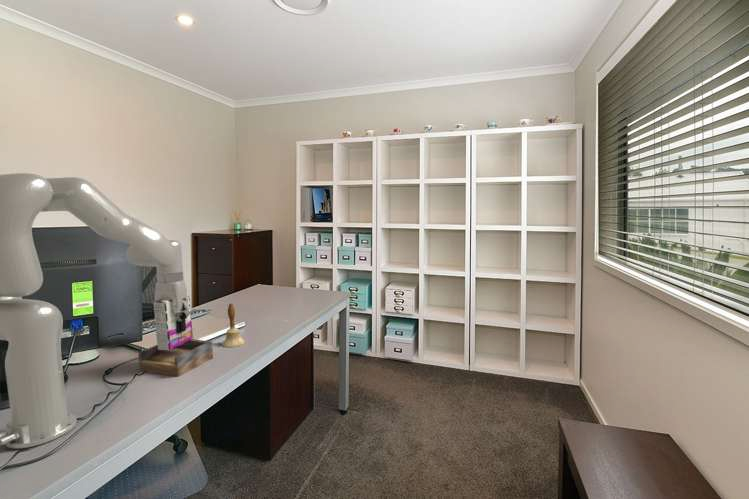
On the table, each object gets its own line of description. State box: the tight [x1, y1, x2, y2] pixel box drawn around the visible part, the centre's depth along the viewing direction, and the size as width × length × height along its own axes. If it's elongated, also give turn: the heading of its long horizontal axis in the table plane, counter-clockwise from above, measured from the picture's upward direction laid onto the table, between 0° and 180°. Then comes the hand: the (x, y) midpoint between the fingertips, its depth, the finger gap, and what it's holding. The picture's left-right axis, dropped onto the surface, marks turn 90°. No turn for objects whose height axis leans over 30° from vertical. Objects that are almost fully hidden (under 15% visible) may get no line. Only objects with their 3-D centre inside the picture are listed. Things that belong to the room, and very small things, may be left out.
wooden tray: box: [138, 338, 214, 377], centre depth 124 cm, size 15×16×6 cm
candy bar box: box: [152, 293, 194, 351], centre depth 122 cm, size 11×5×16 cm, turn 168°
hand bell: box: [221, 303, 246, 348], centre depth 142 cm, size 8×8×16 cm
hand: (174, 330), depth 122 cm, fingers closed on candy bar box, 5 cm apart
